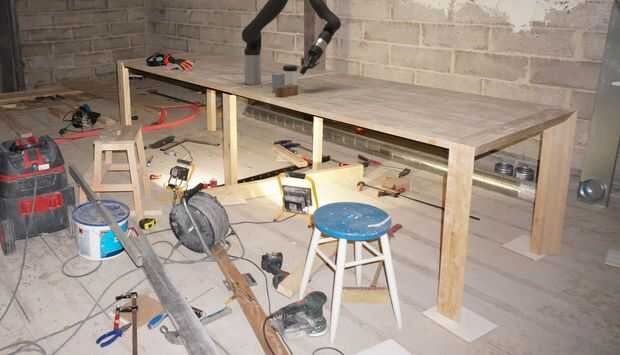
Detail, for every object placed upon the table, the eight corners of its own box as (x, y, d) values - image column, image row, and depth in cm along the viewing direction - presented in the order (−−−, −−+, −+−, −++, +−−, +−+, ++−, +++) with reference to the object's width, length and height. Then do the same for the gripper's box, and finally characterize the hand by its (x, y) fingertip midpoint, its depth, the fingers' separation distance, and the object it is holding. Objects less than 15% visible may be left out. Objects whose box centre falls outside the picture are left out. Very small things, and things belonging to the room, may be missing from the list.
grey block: (272, 92, 306) (271, 73, 303) (277, 90, 310) (277, 72, 307) (279, 93, 303) (279, 74, 300) (284, 91, 307) (284, 73, 304)
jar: (281, 88, 318) (281, 66, 314) (284, 85, 326) (283, 64, 322) (296, 88, 317) (296, 67, 313) (299, 85, 324) (299, 65, 320)
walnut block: (292, 93, 302) (275, 96, 295) (292, 84, 301) (275, 86, 293) (298, 94, 299) (281, 97, 291) (298, 85, 297) (281, 88, 290)
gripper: (306, 43, 306) (289, 67, 302) (322, 44, 297) (306, 70, 293) (313, 52, 311) (297, 76, 307) (329, 54, 302) (313, 79, 298)
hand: (301, 73), depth 300 cm, fingers closed
